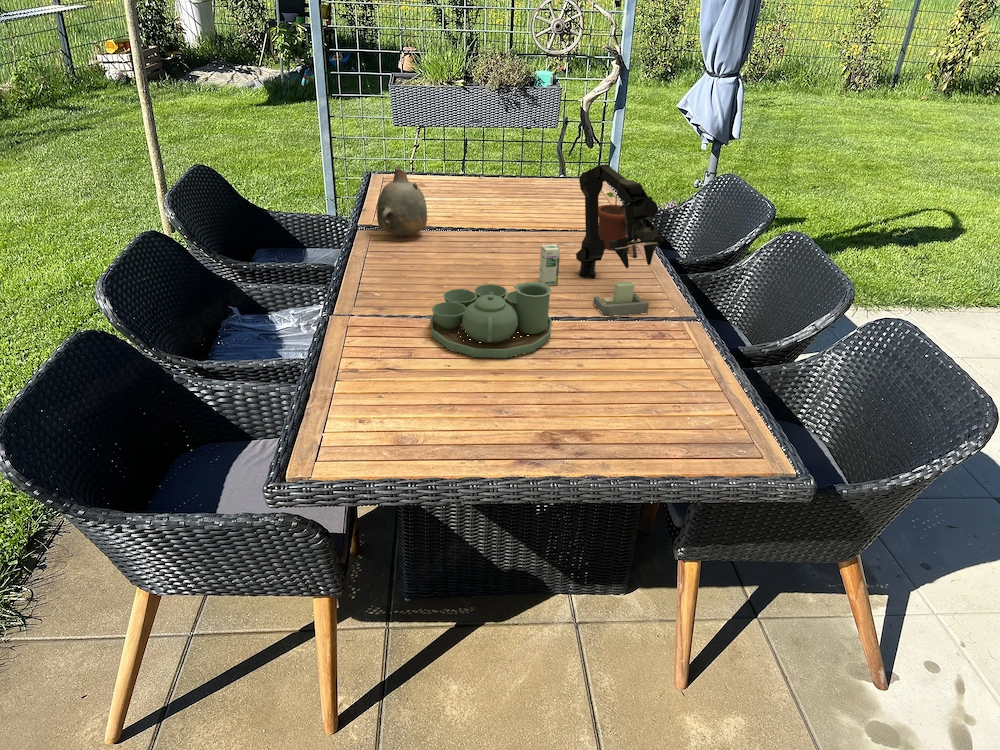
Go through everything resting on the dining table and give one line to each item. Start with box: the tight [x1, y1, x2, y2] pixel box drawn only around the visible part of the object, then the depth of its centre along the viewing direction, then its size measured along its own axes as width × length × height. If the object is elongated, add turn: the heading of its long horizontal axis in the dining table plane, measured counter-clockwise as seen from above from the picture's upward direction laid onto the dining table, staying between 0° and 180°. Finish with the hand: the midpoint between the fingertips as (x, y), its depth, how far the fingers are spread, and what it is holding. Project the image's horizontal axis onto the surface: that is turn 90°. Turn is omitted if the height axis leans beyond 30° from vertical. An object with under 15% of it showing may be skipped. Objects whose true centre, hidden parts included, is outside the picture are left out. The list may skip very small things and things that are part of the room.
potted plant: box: [598, 191, 638, 258], centre depth 294 cm, size 18×22×25 cm
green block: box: [612, 281, 635, 304], centre depth 243 cm, size 3×6×10 cm, turn 105°
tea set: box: [429, 281, 553, 359], centre depth 224 cm, size 40×40×16 cm
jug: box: [376, 165, 428, 237], centre depth 297 cm, size 24×21×30 cm
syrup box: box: [538, 243, 561, 286], centre depth 261 cm, size 6×6×14 cm
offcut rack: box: [592, 292, 650, 317], centre depth 245 cm, size 11×16×4 cm
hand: (638, 266), depth 241 cm, fingers open, 9 cm apart
